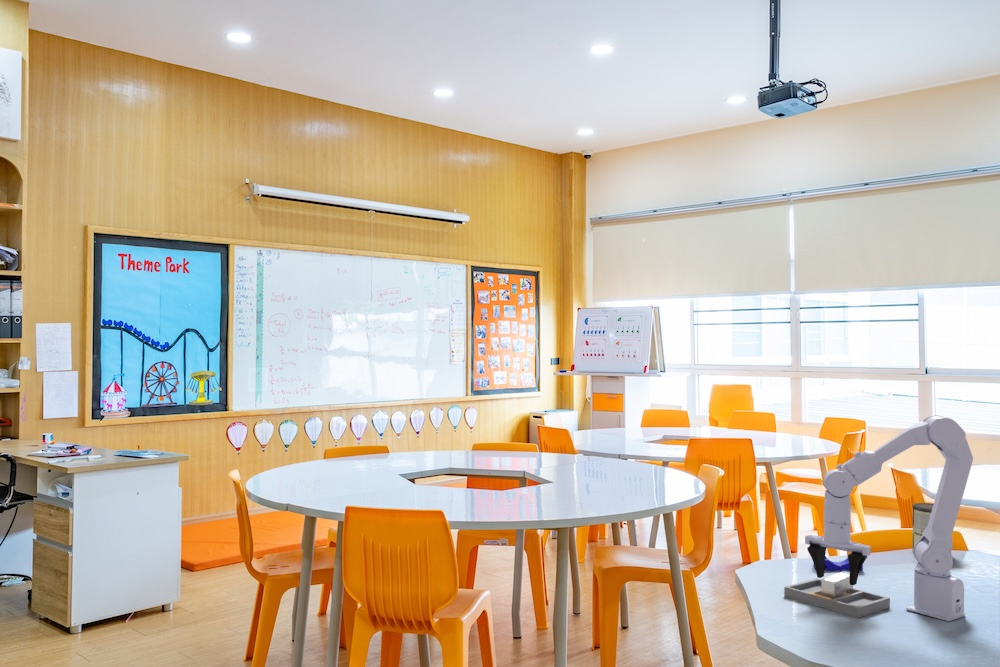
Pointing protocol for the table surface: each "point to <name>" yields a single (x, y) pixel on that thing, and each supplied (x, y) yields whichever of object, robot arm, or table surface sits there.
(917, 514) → the coffee can
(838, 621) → the table surface
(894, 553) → the table surface
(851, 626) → the table surface
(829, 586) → the light grey rectangular block
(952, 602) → the robot arm
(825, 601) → the bay rack
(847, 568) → the blue arch block
